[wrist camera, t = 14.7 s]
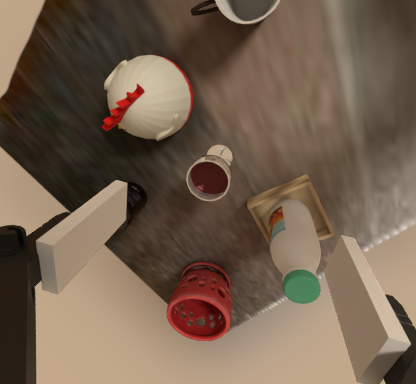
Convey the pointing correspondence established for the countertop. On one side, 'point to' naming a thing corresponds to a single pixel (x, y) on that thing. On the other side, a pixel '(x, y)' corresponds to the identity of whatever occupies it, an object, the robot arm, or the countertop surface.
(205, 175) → the wineglass
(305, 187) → the wooden tray
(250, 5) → the coffee mug
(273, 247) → the milk bottle
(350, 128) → the countertop surface
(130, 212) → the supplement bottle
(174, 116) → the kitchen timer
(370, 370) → the robot arm
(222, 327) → the plant pot
